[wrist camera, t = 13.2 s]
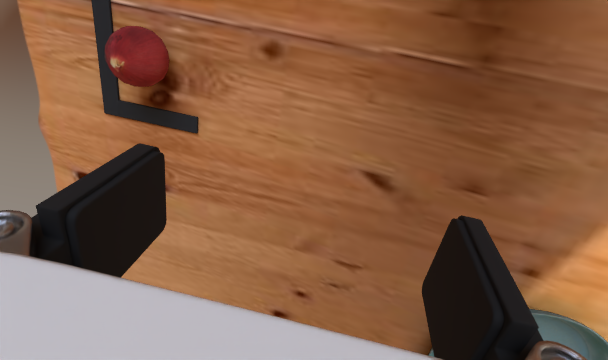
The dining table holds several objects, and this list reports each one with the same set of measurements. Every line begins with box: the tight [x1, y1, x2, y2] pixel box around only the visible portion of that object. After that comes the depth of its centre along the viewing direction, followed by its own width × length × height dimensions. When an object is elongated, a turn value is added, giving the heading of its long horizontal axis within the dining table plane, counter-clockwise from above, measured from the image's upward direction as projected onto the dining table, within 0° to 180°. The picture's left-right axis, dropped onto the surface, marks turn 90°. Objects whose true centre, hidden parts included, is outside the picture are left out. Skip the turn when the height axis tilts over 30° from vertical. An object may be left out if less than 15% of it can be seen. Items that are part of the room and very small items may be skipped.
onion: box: [105, 26, 169, 87], centre depth 35 cm, size 6×6×8 cm
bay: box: [92, 0, 198, 133], centre depth 38 cm, size 17×12×1 cm
